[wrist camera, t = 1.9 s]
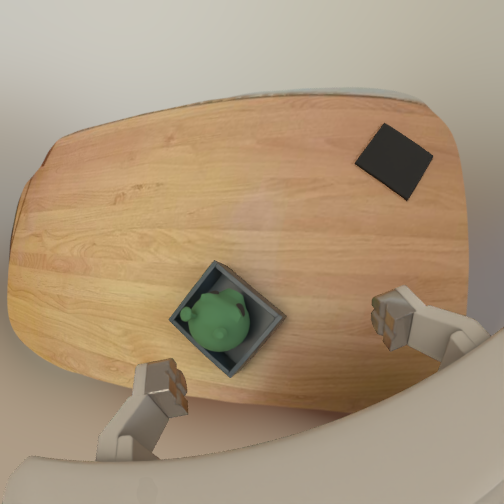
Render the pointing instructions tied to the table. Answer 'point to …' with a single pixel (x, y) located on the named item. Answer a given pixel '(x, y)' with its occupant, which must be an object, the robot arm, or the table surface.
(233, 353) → the crate
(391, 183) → the mat
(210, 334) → the alien toy
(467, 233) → the table surface
